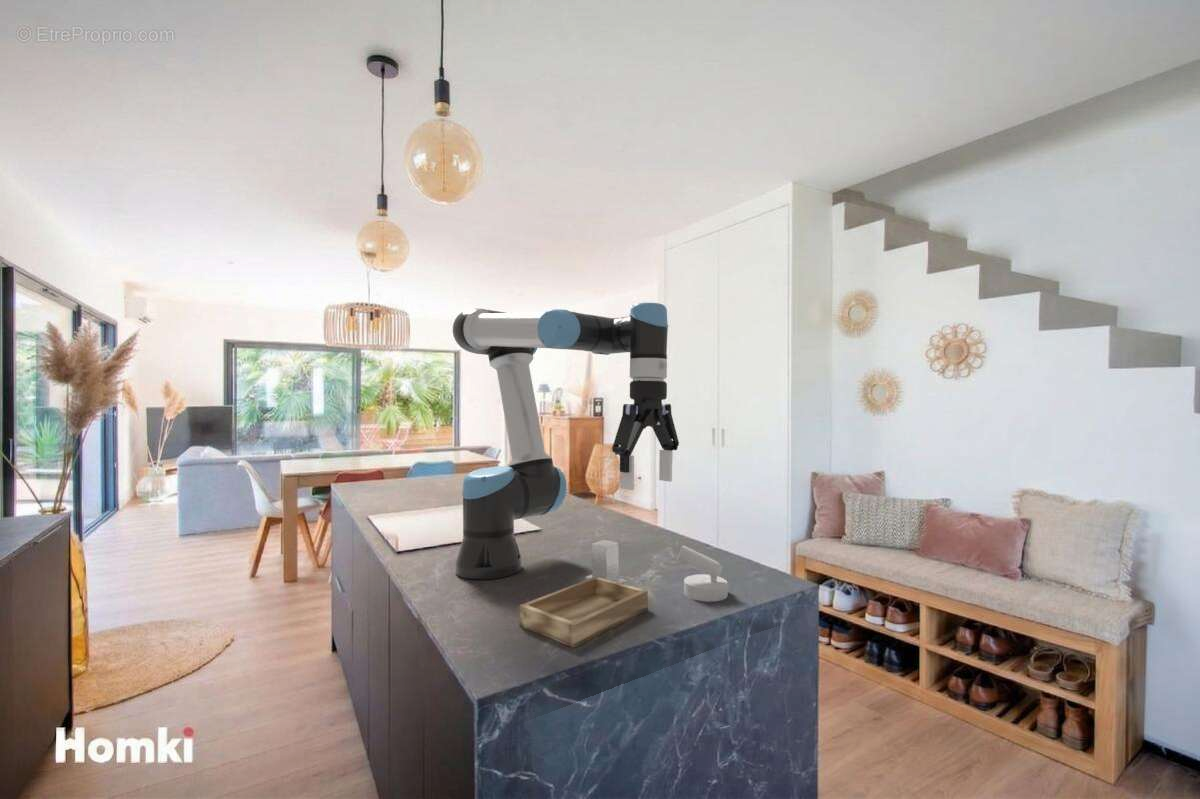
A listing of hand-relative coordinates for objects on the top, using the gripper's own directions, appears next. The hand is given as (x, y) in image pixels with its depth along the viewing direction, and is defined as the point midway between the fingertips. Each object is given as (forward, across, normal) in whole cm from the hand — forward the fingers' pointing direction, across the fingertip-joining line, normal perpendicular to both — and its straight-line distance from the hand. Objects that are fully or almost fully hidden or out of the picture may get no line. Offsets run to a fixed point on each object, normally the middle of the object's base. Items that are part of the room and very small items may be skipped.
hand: (647, 484), depth 107 cm
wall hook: (+22, +7, -9) cm, 25 cm away
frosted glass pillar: (+22, -2, +9) cm, 24 cm away
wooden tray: (+22, -17, +1) cm, 28 cm away
